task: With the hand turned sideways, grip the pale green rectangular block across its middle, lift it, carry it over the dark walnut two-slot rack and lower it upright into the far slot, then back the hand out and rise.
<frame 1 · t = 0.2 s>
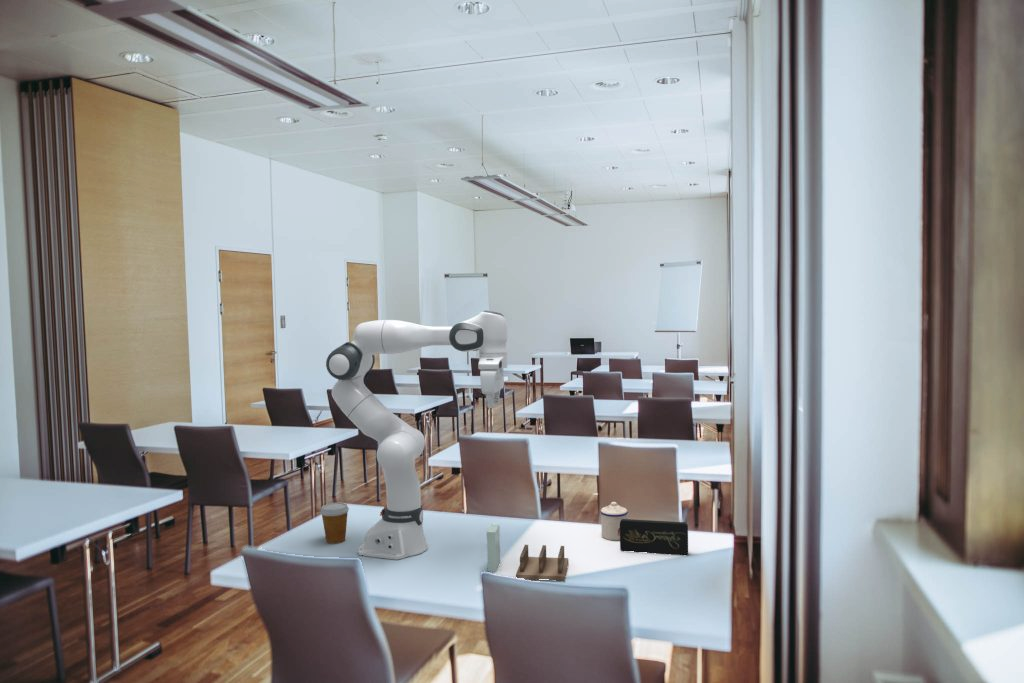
hand: (493, 405, 213), 47 cm above the table, tool pointing down, fingers open, 8 cm apart
pale green rectangular block: (494, 567, 203), on the table
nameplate: (654, 553, 212), on the table
teacup with lid: (616, 535, 229), on the table
disposable coffee cup: (335, 541, 231), on the table
slot rack: (542, 571, 199), on the table
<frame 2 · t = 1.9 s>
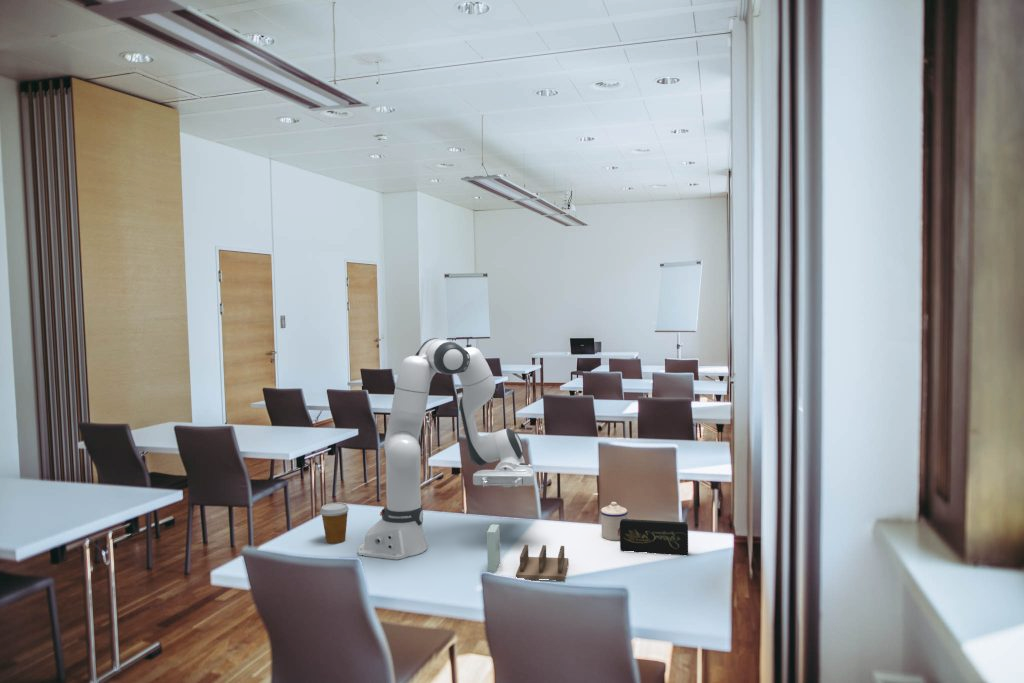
hand: (499, 484, 214), 22 cm above the table, tool horizontal, fingers open, 8 cm apart
nothing on the table moved.
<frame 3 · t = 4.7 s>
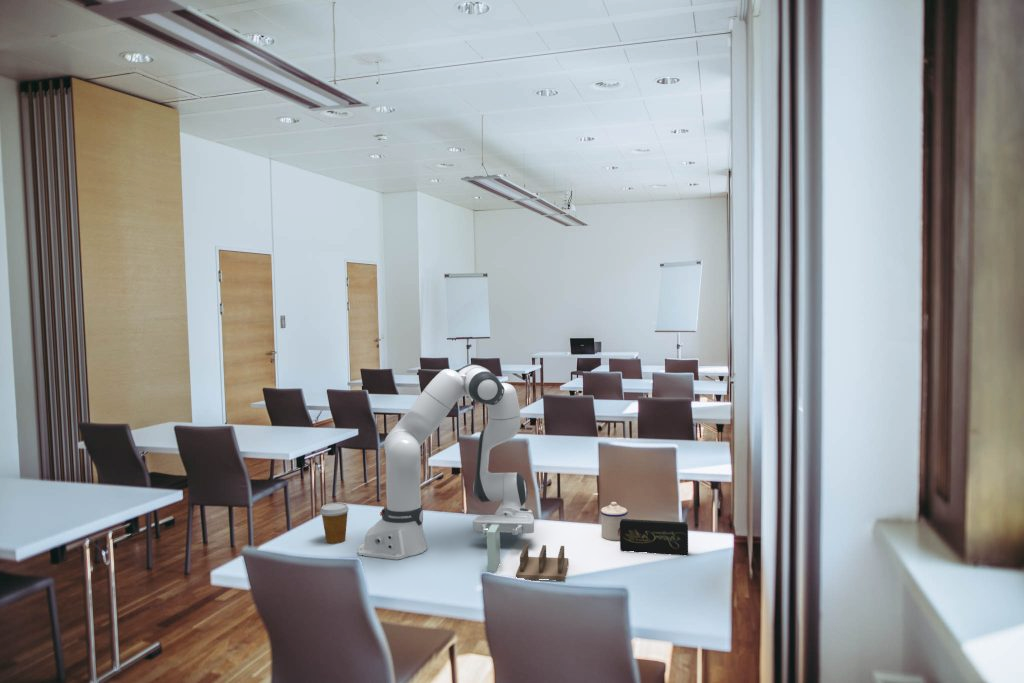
hand: (499, 532, 213), 7 cm above the table, tool horizontal, fingers open, 8 cm apart
nothing on the table moved.
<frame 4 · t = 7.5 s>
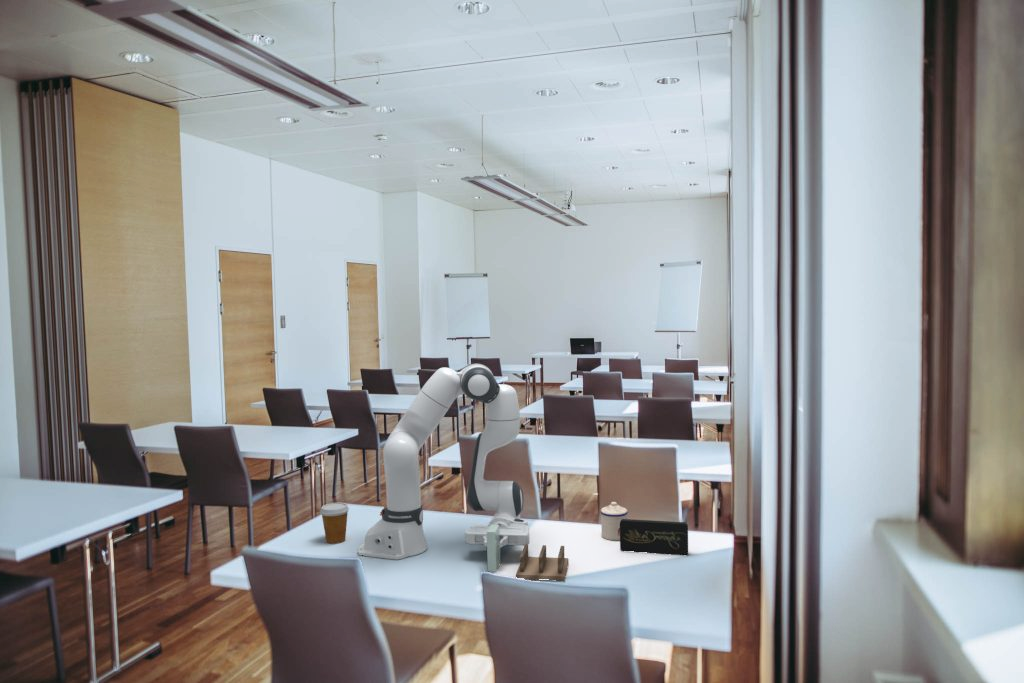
hand: (493, 544, 202), 7 cm above the table, tool horizontal, fingers closed on pale green rectangular block, 2 cm apart
pale green rectangular block: (494, 567, 203), on the table, touching gripper
everything else where it was.
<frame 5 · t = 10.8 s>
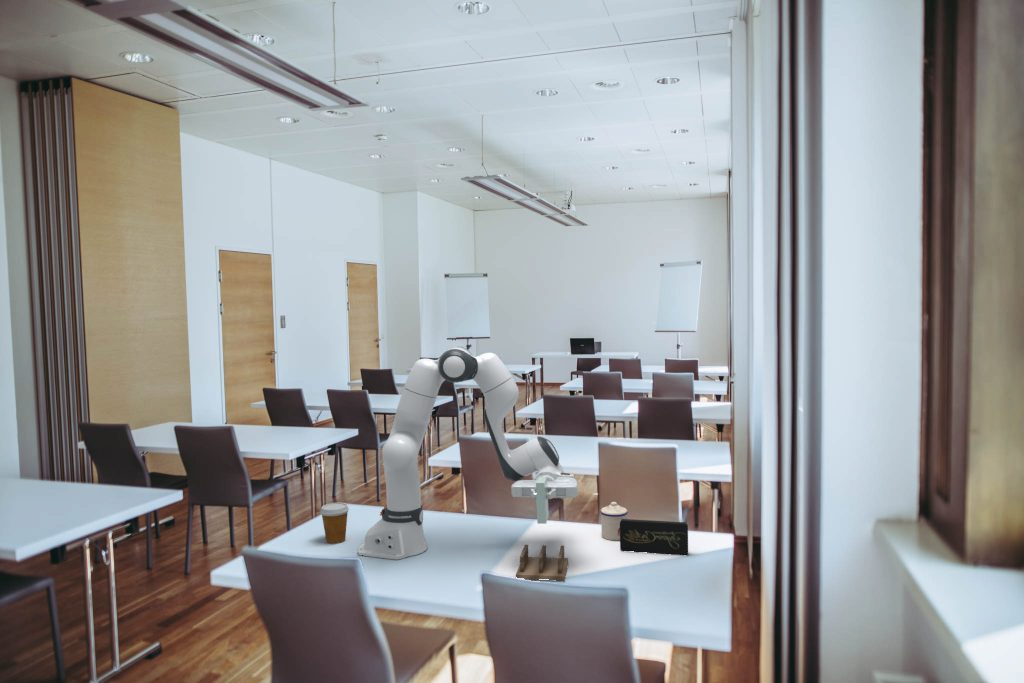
hand: (541, 496, 198), 23 cm above the table, tool horizontal, fingers closed on pale green rectangular block, 2 cm apart
pale green rectangular block: (543, 519, 199), point 15 cm above the table, touching gripper
everything else where it was.
when the fingers open (10 cm above the table, at t = 14.3 s): pale green rectangular block drops 1 cm, resting on slot rack.
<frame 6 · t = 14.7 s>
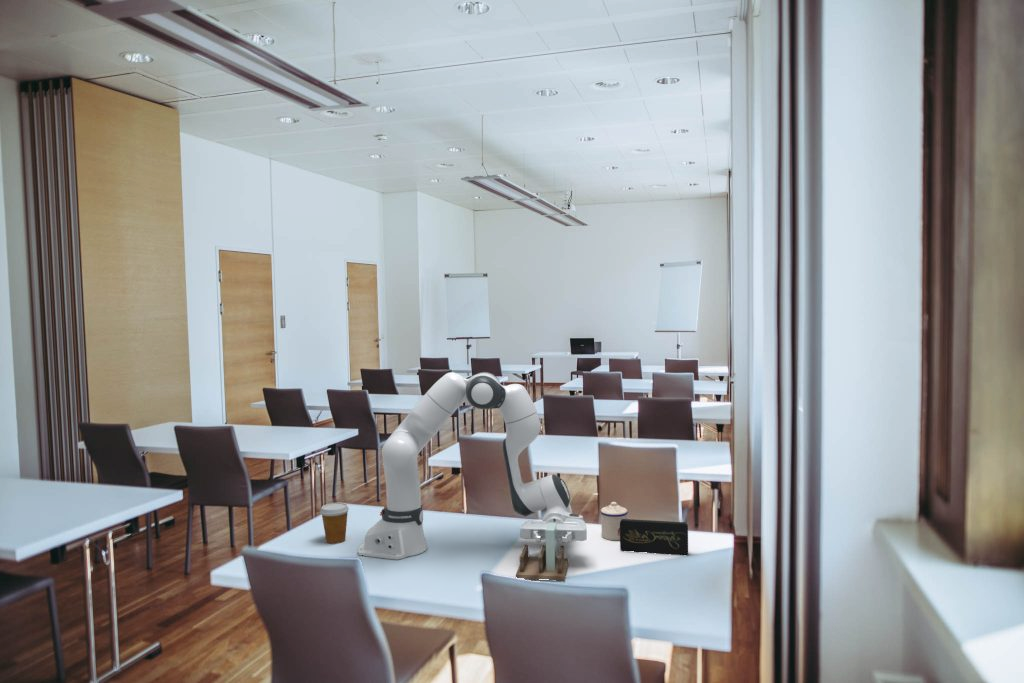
hand: (551, 539, 197), 10 cm above the table, tool horizontal, fingers open, 6 cm apart
pale green rectangular block: (552, 566, 199), point 1 cm above the table, touching slot rack
everything else where it was.
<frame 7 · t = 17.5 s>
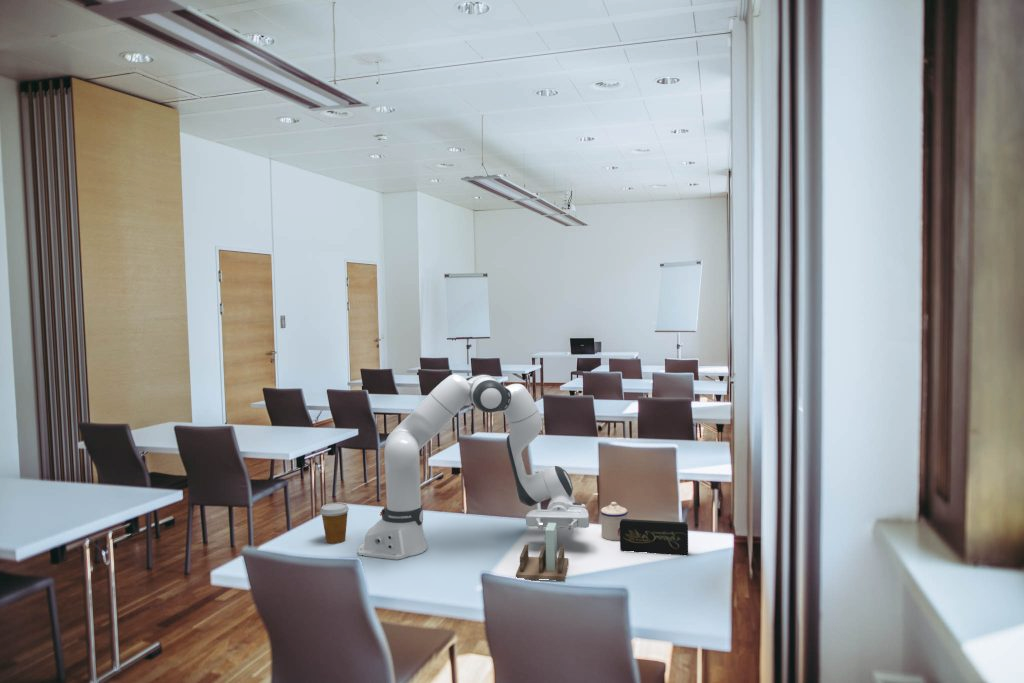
hand: (555, 526, 209), 10 cm above the table, tool horizontal, fingers open, 8 cm apart
nothing on the table moved.
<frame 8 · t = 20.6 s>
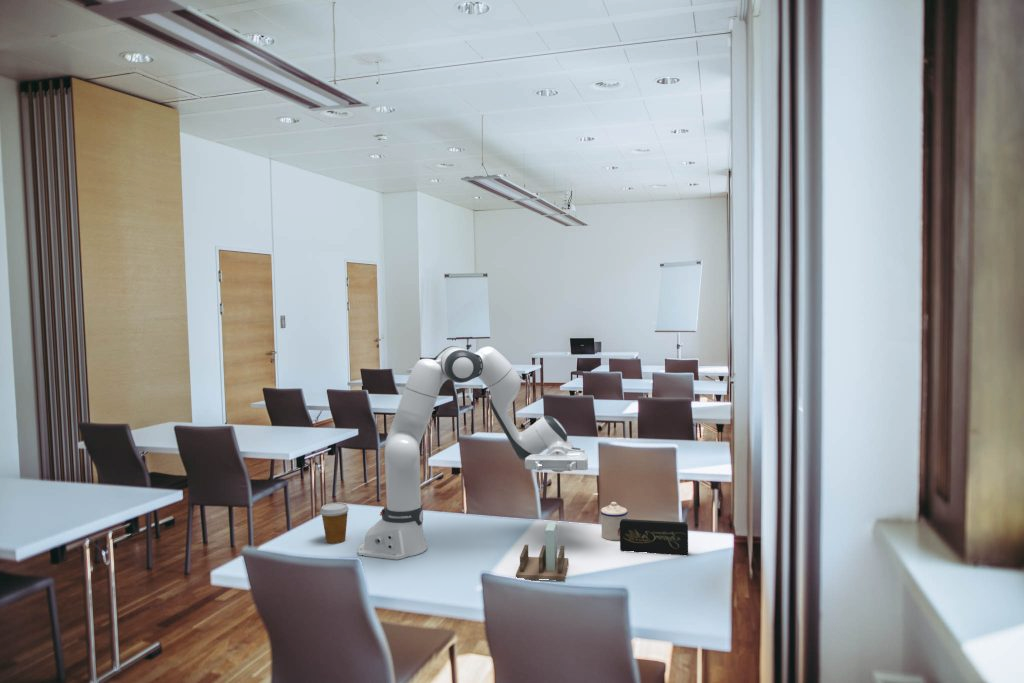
hand: (554, 468, 209), 28 cm above the table, tool horizontal, fingers open, 8 cm apart
nothing on the table moved.
at the end: pale green rectangular block 0.0 cm from the target spot on the slot rack, point 1.5 cm above the slot rack's base; pale green rectangular block tilted 0°; the gripper is holding nothing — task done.
